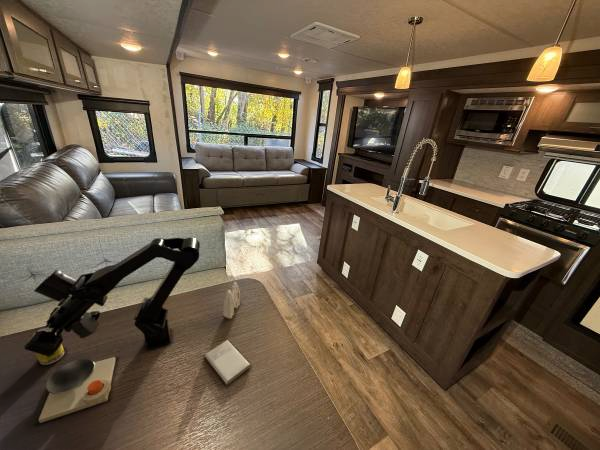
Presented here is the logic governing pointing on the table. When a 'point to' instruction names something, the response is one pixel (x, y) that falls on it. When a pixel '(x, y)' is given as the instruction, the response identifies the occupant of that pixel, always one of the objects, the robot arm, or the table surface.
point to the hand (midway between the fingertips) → (39, 342)
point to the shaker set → (231, 301)
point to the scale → (80, 393)
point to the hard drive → (227, 361)
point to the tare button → (95, 387)
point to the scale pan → (70, 376)
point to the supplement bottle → (52, 358)
